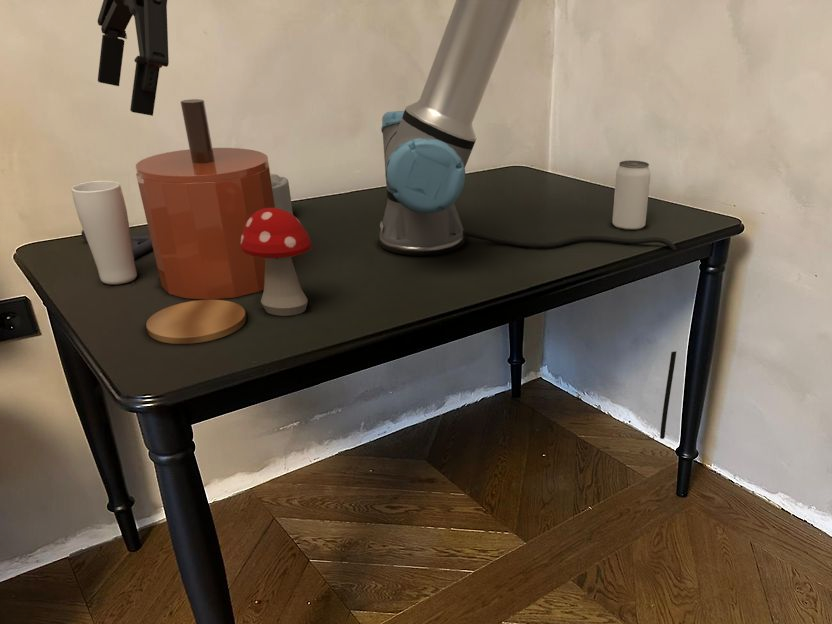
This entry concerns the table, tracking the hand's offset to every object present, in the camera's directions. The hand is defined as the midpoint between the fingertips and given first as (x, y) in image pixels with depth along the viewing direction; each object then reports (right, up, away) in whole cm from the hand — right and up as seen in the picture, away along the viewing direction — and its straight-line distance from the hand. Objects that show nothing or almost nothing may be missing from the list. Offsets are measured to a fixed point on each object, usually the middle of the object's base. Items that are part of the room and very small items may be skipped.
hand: (124, 98), depth 107 cm
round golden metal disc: (+11, -32, -1) cm, 34 cm away
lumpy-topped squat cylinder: (+5, -8, +43) cm, 44 cm away
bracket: (-15, -15, +29) cm, 36 cm away
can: (+78, -9, +42) cm, 89 cm away
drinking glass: (-8, -24, +14) cm, 29 cm away
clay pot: (+8, -23, +15) cm, 29 cm away
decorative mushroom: (+22, -30, +4) cm, 37 cm away
